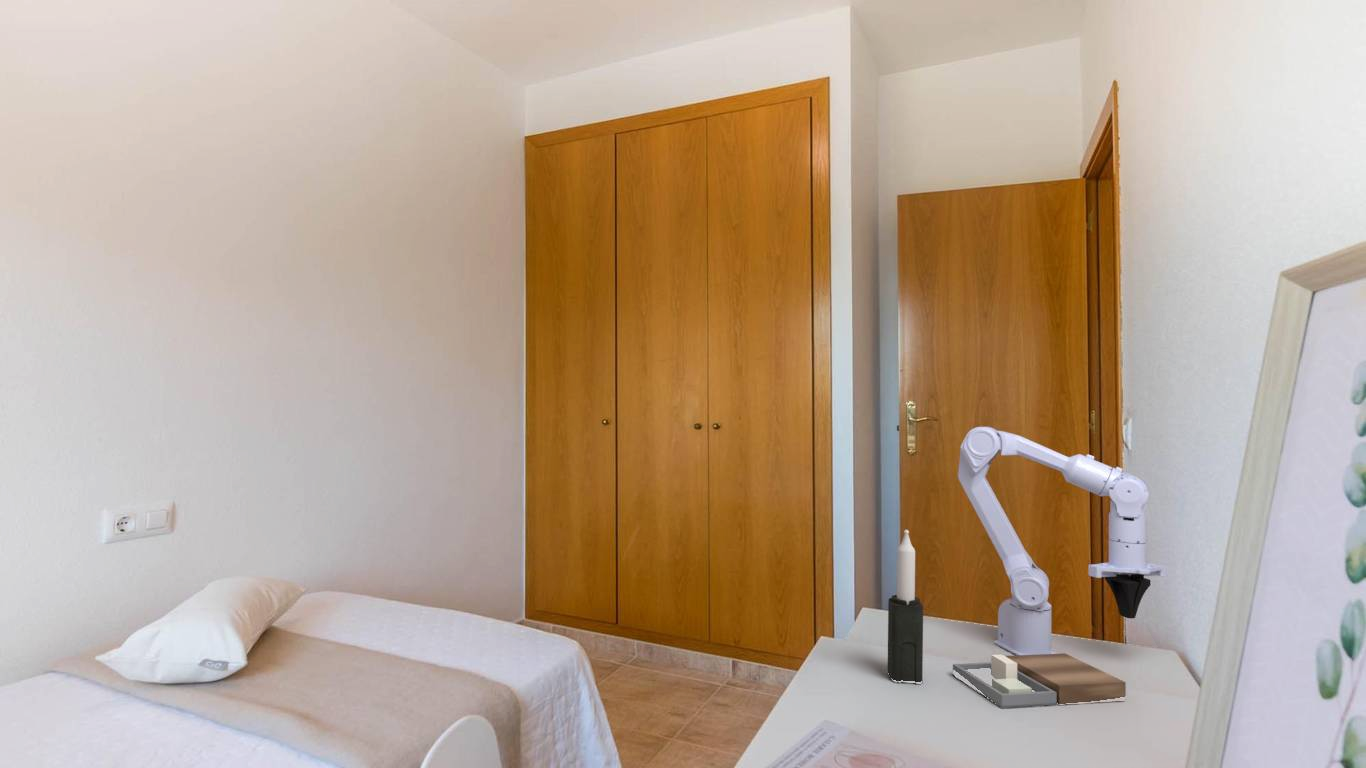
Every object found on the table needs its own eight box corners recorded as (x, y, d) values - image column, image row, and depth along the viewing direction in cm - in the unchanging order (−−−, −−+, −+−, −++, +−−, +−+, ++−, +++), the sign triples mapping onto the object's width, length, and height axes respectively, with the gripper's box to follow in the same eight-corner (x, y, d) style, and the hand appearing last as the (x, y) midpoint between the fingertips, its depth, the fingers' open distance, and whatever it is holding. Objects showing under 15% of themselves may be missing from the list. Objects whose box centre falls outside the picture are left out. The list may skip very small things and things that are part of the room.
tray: (952, 675, 116) (952, 664, 116) (1002, 673, 117) (1002, 661, 117) (1001, 708, 103) (1002, 695, 103) (1056, 705, 105) (1056, 692, 105)
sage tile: (1014, 678, 109) (1014, 690, 109) (992, 679, 108) (992, 691, 108) (1031, 688, 105) (1031, 701, 105) (1008, 689, 104) (1008, 702, 104)
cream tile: (1002, 678, 114) (991, 678, 114) (1002, 654, 114) (991, 654, 114) (1017, 688, 110) (1005, 688, 110) (1017, 663, 110) (1006, 663, 110)
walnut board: (1004, 673, 117) (1004, 655, 118) (1064, 670, 120) (1064, 653, 120) (1059, 705, 105) (1059, 685, 105) (1125, 701, 107) (1125, 682, 107)
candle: (916, 673, 116) (918, 528, 117) (923, 685, 111) (925, 533, 112) (886, 671, 117) (888, 526, 118) (892, 683, 112) (894, 531, 113)
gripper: (1110, 545, 117) (1110, 624, 116) (1181, 544, 119) (1181, 622, 119) (1079, 537, 124) (1079, 612, 123) (1146, 537, 126) (1147, 610, 126)
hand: (1127, 616), depth 121 cm, fingers closed
